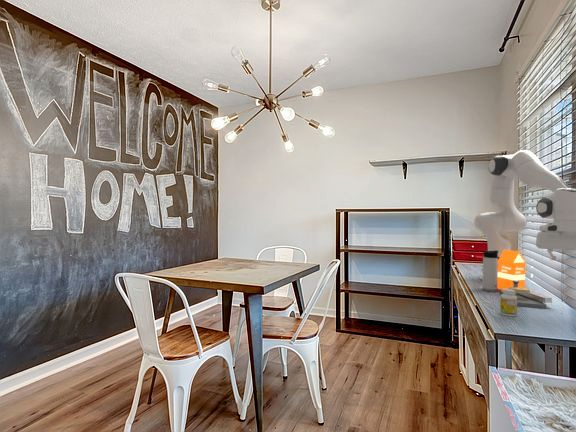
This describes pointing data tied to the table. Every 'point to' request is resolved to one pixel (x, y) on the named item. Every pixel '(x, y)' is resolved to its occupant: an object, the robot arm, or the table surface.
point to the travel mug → (490, 270)
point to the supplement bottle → (508, 303)
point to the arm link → (532, 294)
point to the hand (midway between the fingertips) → (566, 260)
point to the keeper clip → (519, 289)
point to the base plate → (528, 301)
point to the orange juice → (511, 269)
